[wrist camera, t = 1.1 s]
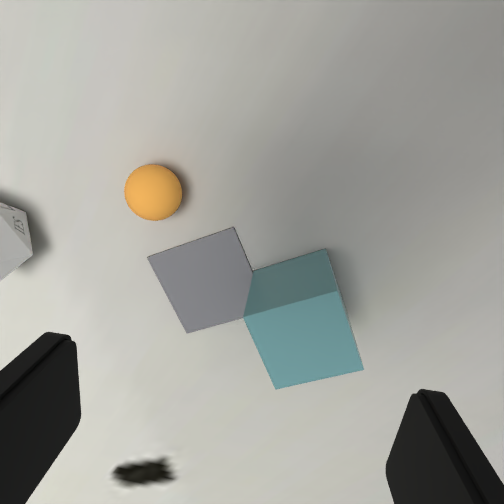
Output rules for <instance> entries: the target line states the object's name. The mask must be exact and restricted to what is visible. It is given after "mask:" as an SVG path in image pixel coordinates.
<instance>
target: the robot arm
mask: <svg viewBox="0 0 504 504" xmlns="http://www.w3.org/2000/svg"><path fill="white" fill-rule="evenodd" d="M80 419H81V405H80V391H79V376H78V362H77V347H76V343H75V342H74V341H72V340H71V337H70V336H69V335H66V334H59V333H53V332H46V333H44V334H43V335H42V336H40V337H39V338H38V339H37V340H36V341H35V342H33V343H32V344H31V345H30V346H29V347H28V348H26V349H25V350H24V351H23V352H22V353H21V354H19V355H18V356H17V357H16V358H15V359H14V360H12V361H11V362H10V363H9V364H8V365H7V366H5V367H4V368H3V369H2V370H1V371H0V504H25V503H26V502H27V500H28V499H29V497H30V496H31V494H32V493H33V491H34V490H35V489H36V487H37V486H38V484H39V483H40V481H41V480H42V478H43V477H44V475H45V474H46V472H47V471H48V470H49V468H50V467H51V465H52V464H53V462H54V461H55V459H56V458H57V456H58V455H59V453H60V452H61V451H62V449H63V448H64V446H65V445H66V443H67V442H68V440H69V439H70V437H71V436H72V434H73V433H74V432H75V430H76V428H77V427H78V425H79V422H80ZM386 477H387V481H388V485H389V488H390V491H391V494H392V497H393V501H394V504H504V485H503V483H502V481H501V480H500V478H499V477H498V475H497V474H496V472H495V470H494V469H493V467H492V466H491V464H490V462H489V461H488V459H487V458H486V456H485V455H484V453H483V451H482V450H481V448H480V447H479V445H478V444H477V442H476V440H475V439H474V437H473V436H472V434H471V433H470V431H469V429H468V428H467V426H466V425H465V423H464V421H463V420H462V418H461V417H460V415H459V414H458V412H457V410H456V409H455V407H454V406H453V404H452V403H451V401H450V399H449V398H448V396H447V395H446V394H445V393H443V392H438V391H432V390H425V389H420V390H419V391H418V392H417V394H412V395H411V397H410V400H409V402H408V405H407V408H406V411H405V413H404V416H403V419H402V422H401V424H400V427H399V430H398V433H397V435H396V438H395V441H394V444H393V446H392V449H391V452H390V455H389V457H388V460H387V463H386Z"/></svg>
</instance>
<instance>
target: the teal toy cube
mask: <svg viewBox="0 0 504 504" xmlns="http://www.w3.org/2000/svg"><path fill="white" fill-rule="evenodd" d="M243 318H244V321H245V323H246V325H247V327H248V329H249V332H250V334H251V336H252V338H253V341H254V343H255V345H256V347H257V349H258V352H259V354H260V356H261V358H262V360H263V363H264V365H265V367H266V369H267V372H268V374H269V376H270V378H271V380H272V383H273V385H274V387H275V389H280V388H284V387H289V386H293V385H298V384H302V383H307V382H311V381H316V380H320V379H325V378H329V377H334V376H338V375H343V374H347V373H352V372H356V371H361V370H364V368H363V365H362V361H361V358H360V355H359V351H358V348H357V345H356V341H355V338H354V334H353V331H352V328H351V324H350V321H349V318H348V314H347V311H346V308H345V305H344V302H343V299H342V296H341V293H340V290H339V287H338V284H337V281H336V278H335V275H334V272H333V269H332V266H331V263H330V260H329V257H328V254H327V251H326V249H322V250H319V251H316V252H313V253H310V254H306V255H303V256H300V257H297V258H294V259H290V260H287V261H284V262H281V263H278V264H274V265H271V266H268V267H265V268H262V269H258V270H255V271H254V272H253V276H252V280H251V285H250V289H249V293H248V298H247V302H246V306H245V311H244V315H243Z"/></svg>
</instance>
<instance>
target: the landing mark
mask: <svg viewBox="0 0 504 504" xmlns="http://www.w3.org/2000/svg"><path fill="white" fill-rule="evenodd" d="M147 259H148V261H149V262H150V264H151V266H152V268H153V270H154V272H155V274H156V276H157V278H158V280H159V282H160V283H161V285H162V287H163V289H164V291H165V293H166V295H167V297H168V299H169V301H170V302H171V304H172V306H173V308H174V310H175V312H176V314H177V316H178V318H179V320H180V322H181V323H182V325H183V327H184V329H185V331H186V333H191V332H194V331H198V330H201V329H205V328H208V327H212V326H215V325H219V324H223V323H226V322H230V321H233V320H237V319H240V318H243V315H244V311H245V306H246V302H247V298H248V293H249V289H250V285H251V280H252V276H253V272H252V269H251V267H250V265H249V262H248V260H247V257H246V255H245V253H244V250H243V248H242V245H241V243H240V241H239V238H238V236H237V234H236V231H235V229H234V227H232V228H229V229H226V230H223V231H220V232H218V233H215V234H212V235H209V236H206V237H203V238H200V239H197V240H195V241H192V242H189V243H186V244H183V245H180V246H177V247H175V248H172V249H169V250H166V251H163V252H160V253H157V254H154V255H152V256H149V257H147Z"/></svg>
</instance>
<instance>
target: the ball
mask: <svg viewBox="0 0 504 504" xmlns="http://www.w3.org/2000/svg"><path fill="white" fill-rule="evenodd" d="M124 193H125V199H126V202H127V204H128V206H129V207H130V209H131V210H132V211H133V212H134V213H135V214H136V215H138V216H139V217H141V218H144V219H146V220H152V221H158V220H163V219H166V218H168V217H169V216H171V215H172V214H173V213H175V211H176V210H177V209H178V207H179V205H180V203H181V200H182V188H181V185H180V182H179V180H178V179H177V177H176V176H175V175H174V174H173V173H172V172H171V171H170V170H168V169H167V168H165V167H163V166H159V165H153V164H151V165H144V166H141V167H139V168H137V169H136V170H134V171H133V172H132V173H131V174H130V176H129V177H128V179H127V181H126V184H125V189H124Z"/></svg>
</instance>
